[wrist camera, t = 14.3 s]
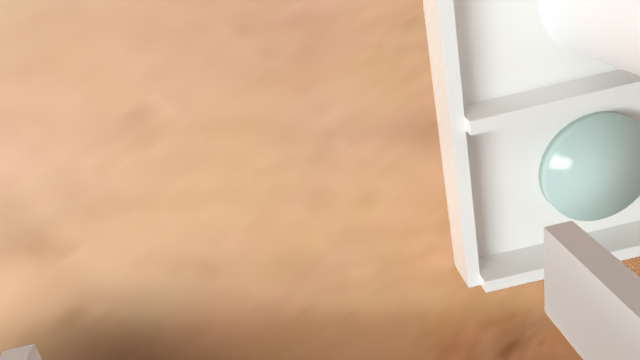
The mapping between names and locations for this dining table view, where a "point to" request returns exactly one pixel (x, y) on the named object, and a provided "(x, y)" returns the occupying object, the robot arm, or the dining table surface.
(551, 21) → the beverage can
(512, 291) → the dining table surface
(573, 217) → the pale green smooth oval
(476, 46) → the divided white tray
